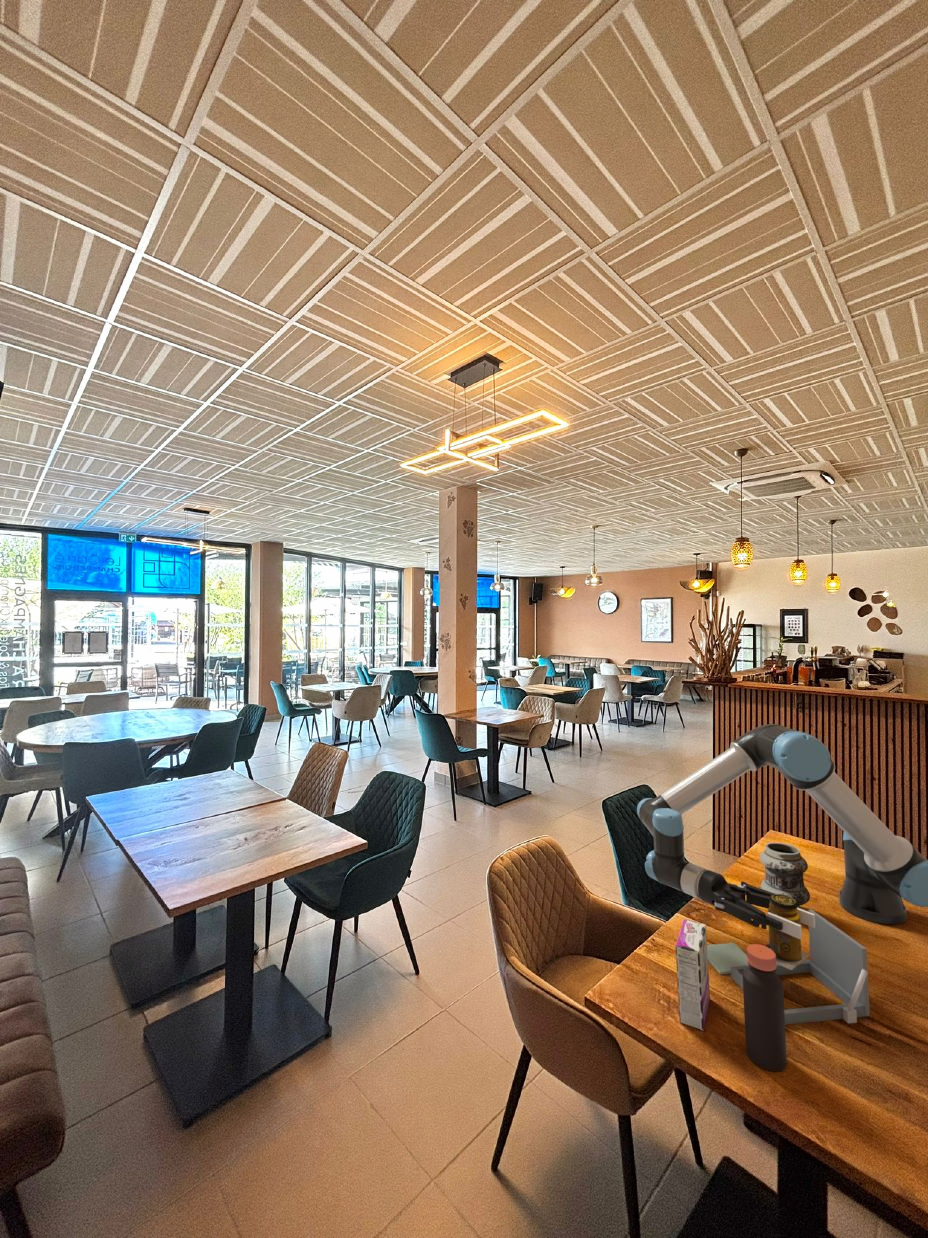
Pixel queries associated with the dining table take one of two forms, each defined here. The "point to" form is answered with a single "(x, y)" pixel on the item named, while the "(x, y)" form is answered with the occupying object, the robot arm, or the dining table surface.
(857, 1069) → the dining table surface
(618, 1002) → the dining table surface
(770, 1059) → the bottle
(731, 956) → the pad
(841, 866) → the dining table surface
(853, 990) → the grey holder frame
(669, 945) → the dining table surface
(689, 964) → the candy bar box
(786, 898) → the condiment
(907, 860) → the robot arm
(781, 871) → the apothecary jar
